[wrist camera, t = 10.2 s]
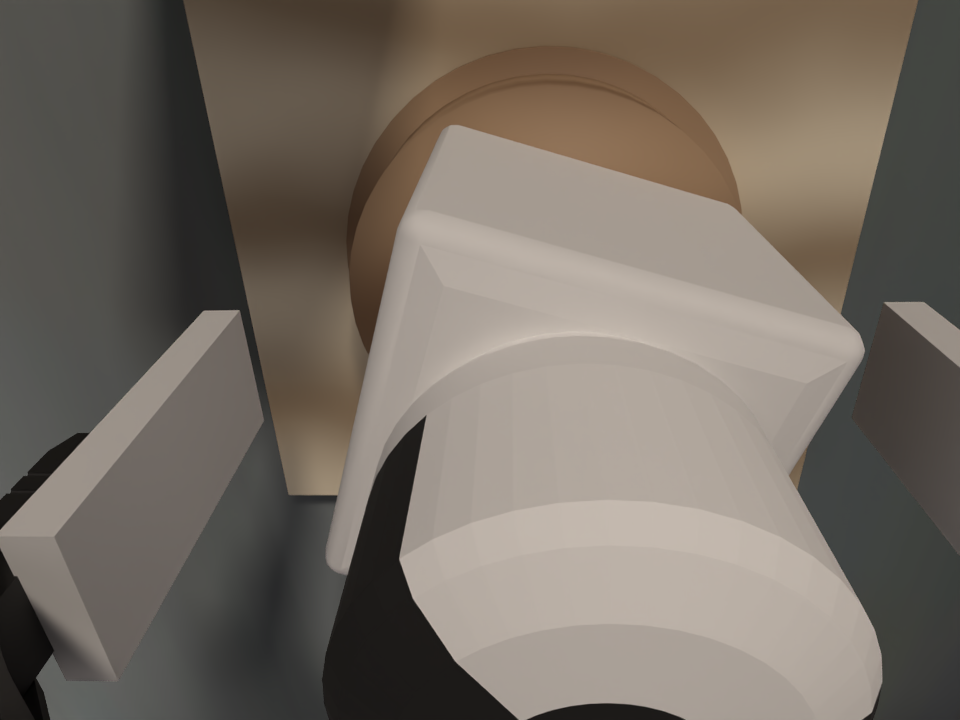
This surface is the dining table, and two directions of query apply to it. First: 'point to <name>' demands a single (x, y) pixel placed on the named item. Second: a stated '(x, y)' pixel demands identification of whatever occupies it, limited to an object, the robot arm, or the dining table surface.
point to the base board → (392, 45)
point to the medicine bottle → (589, 462)
